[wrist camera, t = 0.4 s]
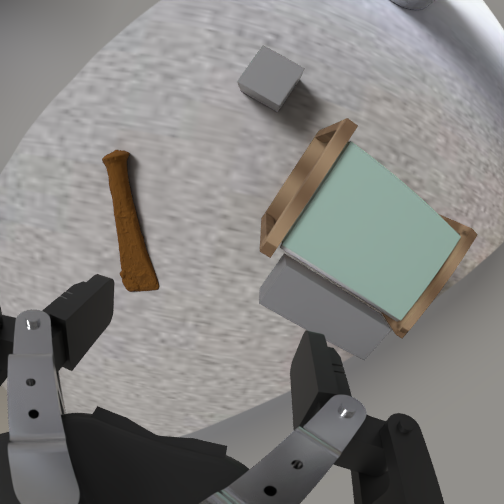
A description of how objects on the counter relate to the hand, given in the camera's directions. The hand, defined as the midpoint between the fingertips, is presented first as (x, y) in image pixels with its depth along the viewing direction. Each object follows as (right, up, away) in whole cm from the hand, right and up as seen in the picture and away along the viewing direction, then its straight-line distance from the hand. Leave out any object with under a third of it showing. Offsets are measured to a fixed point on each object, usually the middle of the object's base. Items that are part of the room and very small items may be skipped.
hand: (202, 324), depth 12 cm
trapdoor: (+12, +2, +15) cm, 19 cm away
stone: (+4, +22, +20) cm, 30 cm away
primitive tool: (-14, +6, +27) cm, 31 cm away
